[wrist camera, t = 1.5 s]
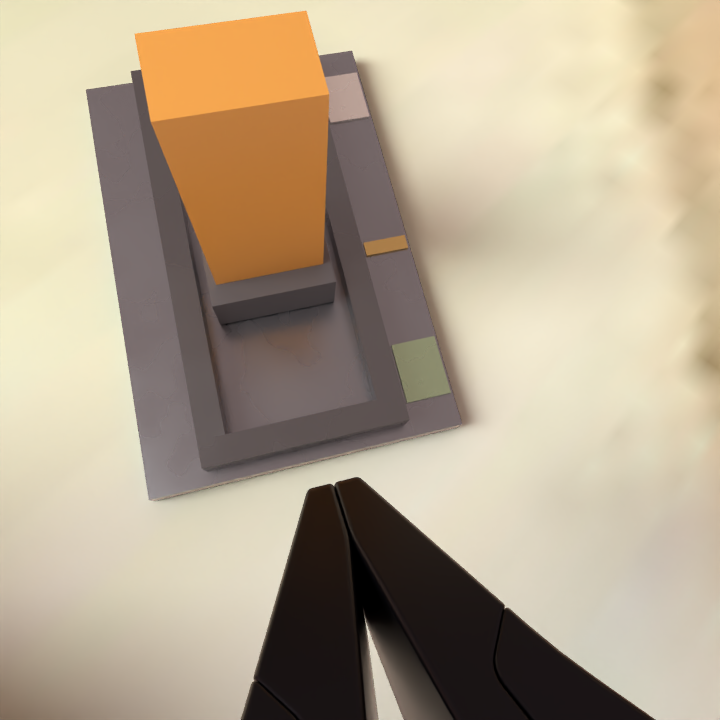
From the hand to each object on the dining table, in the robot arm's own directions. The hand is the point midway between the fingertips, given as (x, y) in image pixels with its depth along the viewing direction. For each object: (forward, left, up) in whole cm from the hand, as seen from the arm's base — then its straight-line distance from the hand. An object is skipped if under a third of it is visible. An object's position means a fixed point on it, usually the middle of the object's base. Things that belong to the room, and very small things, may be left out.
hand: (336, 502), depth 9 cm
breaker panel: (+7, -9, -14) cm, 18 cm away
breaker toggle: (+6, -8, -13) cm, 16 cm away
